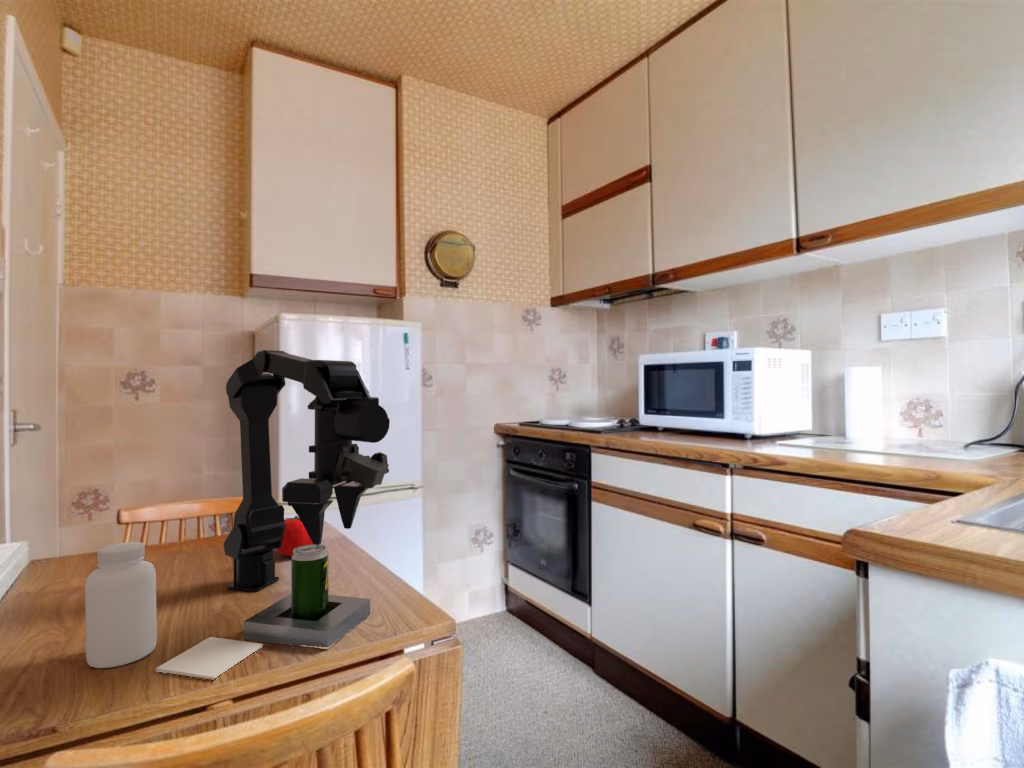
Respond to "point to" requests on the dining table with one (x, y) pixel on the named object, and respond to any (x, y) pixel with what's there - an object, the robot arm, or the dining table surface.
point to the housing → (307, 622)
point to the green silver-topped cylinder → (309, 582)
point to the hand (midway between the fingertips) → (333, 535)
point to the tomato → (294, 536)
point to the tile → (209, 658)
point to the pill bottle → (120, 607)
